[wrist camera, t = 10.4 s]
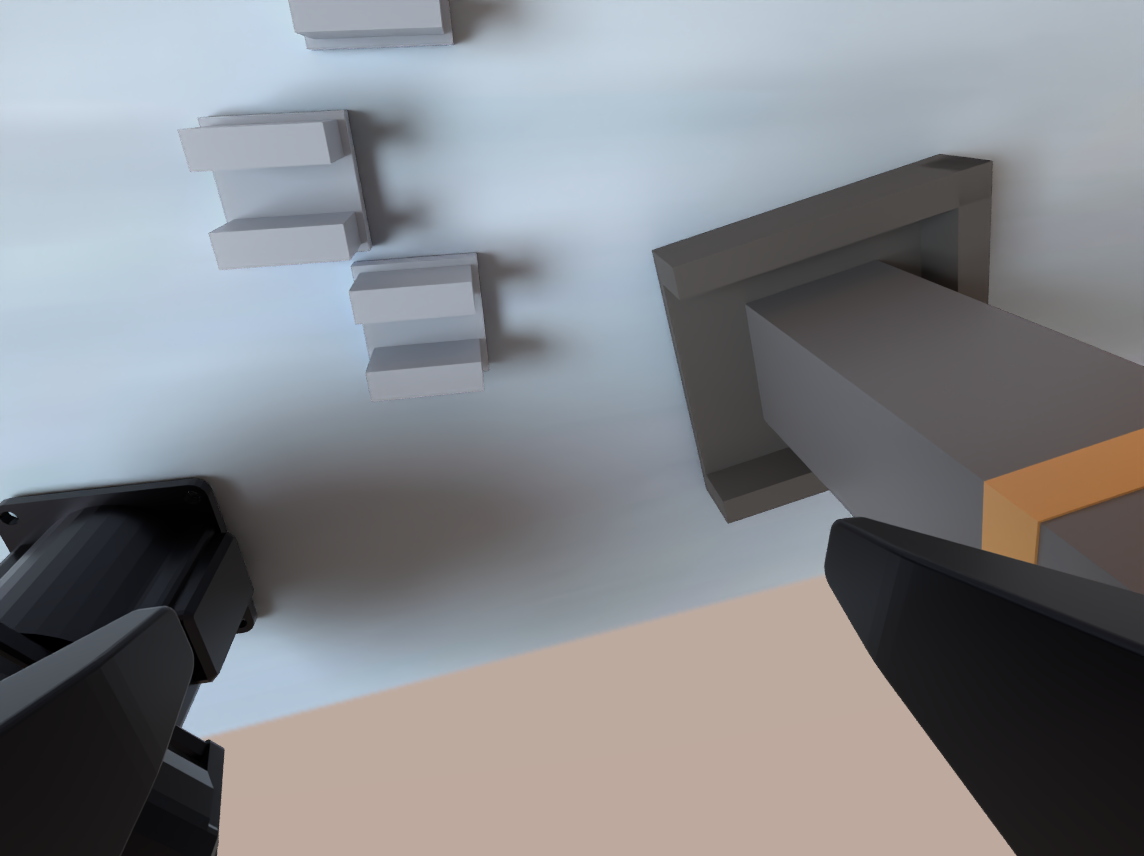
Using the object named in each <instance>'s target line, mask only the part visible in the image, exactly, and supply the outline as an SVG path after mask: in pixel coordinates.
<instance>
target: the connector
mask: <svg viewBox="0 0 1144 856" xmlns="http://www.w3.org/2000/svg"><path fill="white" fill-rule="evenodd" d="M745 307H746V313H747V319H748V325H749V331H750V338H751V344H752V350H753V356H754V362H755V368H756V374H757V380H758V387H759V393H760V399H761V405H762V411H763V417H764V420H765V421H766V422H767V423H768V425H769V426H770V427H771V428H772V429H773V430H774V431H775V432H776V433H777V434H778V435H779V436H780V438H781V439H782V440H783V441H784V442H785V443H786V444H787V445H788V446H789V447H790V448H791V449H792V450H793V452H794V453H795V454H796V455H797V456H798V457H799V458H800V459H801V460H802V461H803V462H804V463H805V465H806V466H807V467H808V468H809V469H810V470H811V471H812V472H813V473H814V474H815V475H816V476H817V477H818V479H819V480H820V481H821V482H822V483H823V484H824V485H825V486H826V487H827V488H828V489H829V490H830V491H831V493H832V494H833V495H834V496H835V497H836V498H837V499H838V500H839V501H840V502H841V503H842V504H843V506H844V507H845V508H846V509H847V510H848V511H849V512H850V513H851V514H852V515H853V516H854V517H866V518H869V519H873V520H877V521H880V522H884V523H887V524H891V525H895V526H898V527H902V528H905V529H909V530H913V531H916V532H920V533H924V534H927V535H931V536H934V537H938V538H942V539H945V540H949V541H953V542H956V543H960V544H963V545H967V546H971V547H974V548H978V549H982V550H985V551H989V552H992V553H996V554H1000V555H1003V556H1007V557H1011V558H1014V559H1018V560H1021V561H1025V562H1029V563H1032V564H1036V565H1040V566H1043V567H1047V568H1050V569H1054V570H1058V571H1061V572H1065V573H1069V574H1072V575H1076V576H1079V577H1083V578H1087V579H1090V580H1094V581H1098V582H1101V583H1105V584H1108V585H1112V586H1116V587H1119V588H1123V589H1127V590H1130V591H1134V592H1137V593H1141V594H1144V367H1143V366H1141V365H1138V364H1136V363H1133V362H1131V361H1128V360H1126V359H1123V358H1121V357H1118V356H1116V355H1113V354H1111V353H1108V352H1106V351H1103V350H1101V349H1098V348H1096V347H1093V346H1091V345H1088V344H1086V343H1083V342H1081V341H1078V340H1076V339H1073V338H1071V337H1068V336H1066V335H1063V334H1061V333H1058V332H1056V331H1053V330H1051V329H1048V328H1046V327H1043V326H1041V325H1038V324H1036V323H1033V322H1031V321H1028V320H1026V319H1023V318H1021V317H1018V316H1016V315H1013V314H1011V313H1008V312H1006V311H1003V310H1001V309H998V308H996V307H993V306H991V305H988V304H986V303H983V302H981V301H978V300H976V299H973V298H971V297H968V296H966V295H963V294H961V293H958V292H956V291H953V290H951V289H948V288H946V287H943V286H941V285H938V284H936V283H933V282H931V281H928V280H926V279H923V278H921V277H918V276H916V275H913V274H911V273H908V272H906V271H903V270H901V269H898V268H896V267H893V266H891V265H888V264H886V263H883V262H881V261H878V260H874V261H871V262H868V263H865V264H862V265H859V266H856V267H853V268H850V269H847V270H844V271H841V272H838V273H835V274H832V275H829V276H826V277H823V278H820V279H817V280H814V281H811V282H808V283H805V284H802V285H799V286H796V287H793V288H790V289H787V290H784V291H781V292H778V293H776V294H773V295H770V296H767V297H764V298H761V299H758V300H755V301H752V302H749V303H746V304H745Z"/></svg>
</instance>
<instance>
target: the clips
mask: <svg viewBox="0 0 1144 856" xmlns="http://www.w3.org/2000/svg"><path fill="white" fill-rule="evenodd" d="M288 1H289V6H290V11H291V16H292V21H293V25H294V30H295V33H298V34H301V35H304V37H305V42H306V46H307V49H309V50H334V49H359V48H385V47H411V46H437V45H454V44H453V35H452V26H451V17H450V8H449V0H288ZM198 122H199V125H200V127H196V128H188V129H179V130H178V133H179V136H180V140H181V143H182V147H183V150H184V153H185V157H186V160H187V163H188V167H189V170H190V172H199V171H213V175H214V179H215V182H216V186H217V189H218V193H219V196H220V200H221V203H222V207H223V210H224V214H225V218H226V221H227V223H226V224H224V225H223V226H221V227H219V228H217V229H215V230H213V231H212V232H210V233H208V234H209V237H210V241H211V244H212V247H213V251H214V254H215V257H216V261H217V264H218V268H219V270H227V269H241V268H254V267H267V266H281V265H294V264H307V263H321V262H334V261H347V260H351V259H352V257H353V256H354V254H355V253H356V252H362V251H370V250H371V248H372V242H371V237H370V232H369V226H368V221H367V215H366V210H365V204H364V199H363V193H362V188H361V183H360V177H359V172H358V166H357V161H356V155H355V150H354V144H353V139H352V134H351V128H350V123H349V117H348V112H347V110H337V111H316V112H296V113H276V114H255V115H235V116H215V117H199V118H198ZM351 270H352V274H353V279H354V283H353V285H352V287H351V288H350V290H349V296H350V301H351V305H352V310H353V315H354V320H355V325H356V324H363V329H364V334H365V339H366V344H367V349H368V354H369V359H370V361H369V364H368V367H367V370H366V378H367V383H368V387H369V392H370V397H371V402H376V401H386V400H396V399H406V398H416V397H426V396H437V395H447V394H457V393H467V392H477V391H484V381H483V371H489V363H488V353H487V344H486V335H485V326H484V317H483V308H482V299H481V290H480V281H479V272H478V263H477V253H465V254H452V255H438V256H425V257H412V258H398V259H385V260H372V261H359V262H354V263H353V264H352V266H351Z"/></svg>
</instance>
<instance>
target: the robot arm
mask: <svg viewBox="0 0 1144 856" xmlns="http://www.w3.org/2000/svg"><path fill="white" fill-rule="evenodd" d="M188 491H193V492H196V493H198V494H199V496H200V497H199V498H197V497H193V496H191V495H190V494H189V493H188ZM8 512H12V513H14V514H15V515H16V516H17V517H18V518H17V517H14V516H11V515H10V514H9V513H8ZM0 535H1V537H2V539H3V541H4V542H5V544H6V546H7V548H8V549H9V551H10V554H9V555H8V556H7V557H6V558H5V559H4V560H3V561H2V562H1V563H0V856H217V847H218V843H219V840H218V839H219V838H218V837H219V819H220V806H221V791H222V777H223V763H224V748H223V747H221V746H219V745H218V744H216V743H214V742H212V741H211V740H206V741H203V740H202V739H200V738H198V737H196V736H195V735H193V734H191V733H190V732H188V731H186V730H184V729H183V728H182V725H183V723H184V721H185V719H186V716H187V714H188V712H189V710H190V707H191V705H192V703H193V701H194V698H195V696H196V694H197V692H198V689H199V687H200V685H201V683H208V682H213V680H214V679H215V678H216V677H217V676H218V674H219V673H220V670H221V668H222V666H223V663H224V661H225V658H226V656H227V654H228V651H229V649H230V647H231V644H232V642H233V639H234V637H235V635H236V634H238V633H244V632H248V631H250V630H251V629H252V628H253V626H254V624H255V621H256V619H257V613H256V610H255V607H254V604H253V601H252V599H251V597H252V594H253V591H254V589H253V586H252V583H251V580H250V578H249V575H248V572H247V569H246V566H245V564H244V561H243V558H242V555H241V552H240V549H239V547H238V544H237V541H236V538H235V537H234V536H233V535H232V534H231V533H229V532H227V529H226V526H225V524H224V521H223V518H222V515H221V513H220V510H219V507H218V504H217V501H216V499H215V496H214V493H213V490H212V488H211V487H210V485H209V484H208V483H206V482H205V481H203V480H200V479H193V478H191V479H182V480H172V481H163V482H154V483H145V484H136V485H127V486H118V487H108V488H99V489H90V490H81V491H72V492H63V493H53V494H44V495H35V496H26V497H17V498H9V499H5V500H3V501H2V502H1V503H0ZM824 568H825V575H826V579H827V582H828V584H829V586H830V588H831V589H832V591H833V593H834V594H835V596H836V598H837V600H838V601H839V603H840V605H841V607H842V608H843V610H844V612H845V613H846V615H847V616H848V619H849V620H850V622H851V624H852V625H853V627H854V629H855V630H856V632H857V634H858V636H859V637H860V639H861V641H862V642H863V644H864V646H865V648H866V649H867V651H868V653H869V654H870V656H871V657H872V659H873V661H874V662H875V664H876V665H877V666H878V668H879V669H880V671H881V672H882V674H883V675H884V676H885V678H886V679H887V680H888V682H889V683H890V685H891V686H892V687H893V689H894V690H895V691H896V693H897V694H898V696H899V697H900V698H901V699H902V701H903V702H904V704H905V705H906V706H907V708H908V709H909V710H910V712H911V713H912V714H913V716H914V717H915V718H916V720H917V721H918V723H919V724H920V725H921V727H922V728H923V729H924V731H925V732H926V733H927V735H928V736H929V738H930V739H931V740H932V742H933V743H934V744H935V746H936V747H937V748H938V750H939V751H940V752H941V754H942V755H943V756H944V758H945V759H946V761H947V762H948V763H949V765H950V766H951V767H952V769H953V770H954V771H955V773H956V774H957V775H958V777H959V778H960V779H961V781H962V782H963V784H964V785H965V786H966V788H967V789H968V790H969V792H970V793H971V794H972V796H973V797H974V798H975V800H976V801H977V802H978V804H979V805H980V806H981V808H982V809H983V811H984V812H985V813H986V814H987V816H988V818H989V819H990V820H991V822H992V823H993V824H994V826H995V827H996V828H997V830H998V831H999V832H1000V834H1001V835H1002V836H1003V838H1004V839H1005V840H1006V842H1007V843H1008V845H1009V846H1010V847H1011V849H1012V850H1013V851H1014V853H1015V854H1016V855H1017V856H1144V594H1141V593H1137V592H1134V591H1130V590H1127V589H1123V588H1119V587H1116V586H1112V585H1108V584H1105V583H1101V582H1098V581H1094V580H1090V579H1087V578H1083V577H1079V576H1076V575H1072V574H1069V573H1065V572H1061V571H1058V570H1054V569H1050V568H1047V567H1043V566H1040V565H1036V564H1032V563H1029V562H1025V561H1021V560H1018V559H1014V558H1011V557H1007V556H1003V555H1000V554H996V553H992V552H989V551H985V550H982V549H978V548H974V547H971V546H967V545H963V544H960V543H956V542H953V541H949V540H945V539H942V538H938V537H934V536H931V535H927V534H924V533H920V532H916V531H913V530H909V529H905V528H902V527H898V526H895V525H891V524H887V523H884V522H880V521H877V520H873V519H869V518H866V517H852V518H844V519H838V520H836V521H835V522H834V523H833V525H832V527H831V530H830V536H829V541H828V547H827V552H826V558H825V565H824ZM242 618H243V619H245V620H242Z"/></svg>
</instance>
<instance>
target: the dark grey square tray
mask: <svg viewBox="0 0 1144 856" xmlns="http://www.w3.org/2000/svg"><path fill="white" fill-rule="evenodd" d="M992 165H993V161H991V160H983V159H975V158H967V157H959V156H951V155H943V154H938V155H935V156H932V157H929V158H926V159H923V160H920V161H918V162H915V163H912V164H909V165H906V166H903V167H900V168H897V169H894V170H891V171H888V172H885V173H882V174H879V175H876V176H873V177H870V178H867V179H864V180H861V181H858V182H855V183H852V184H849V185H846V186H843V187H840V188H837V189H834V190H831V191H828V192H825V193H822V194H819V195H816V196H813V197H810V198H807V199H804V200H801V201H798V202H795V203H792V204H789V205H786V206H783V207H780V208H777V209H774V210H771V211H768V212H765V213H762V214H759V215H756V216H753V217H750V218H747V219H744V220H741V221H738V222H735V223H732V224H729V225H726V226H723V227H721V228H718V229H715V230H712V231H709V232H706V233H703V234H700V235H697V236H694V237H691V238H688V239H685V240H682V241H679V242H676V243H673V244H670V245H667V246H664V247H661V248H658V249H655V250H652V253H653V258H654V262H655V266H656V271H657V275H658V280H659V284H660V288H661V293H662V297H663V301H664V306H665V310H666V315H667V319H668V323H669V328H670V332H671V336H672V341H673V345H674V350H675V354H676V358H677V363H678V367H679V371H680V376H681V380H682V385H683V389H684V393H685V398H686V402H687V407H688V411H689V415H690V420H691V424H692V428H693V433H694V437H695V442H696V446H697V450H698V455H699V459H700V463H701V468H702V472H703V477H704V481H705V485H706V489H707V491H708V492H709V494H710V496H711V497H712V499H713V500H714V502H715V504H716V505H717V507H718V509H719V510H720V512H721V513H722V515H723V517H724V518H725V520H726V521H727V523H728V524H729V523H732V522H735V521H738V520H741V519H744V518H747V517H750V516H753V515H756V514H759V513H762V512H765V511H768V510H771V509H774V508H777V507H780V506H783V505H786V504H789V503H792V502H795V501H798V500H801V499H804V498H807V497H810V496H813V495H816V494H819V493H822V492H825V491H828V490H829V489H828V488H827V487H826V486H825V485H824V484H823V483H822V482H821V481H820V480H819V479H818V477H817V476H816V475H815V474H814V473H813V472H812V471H811V470H810V469H809V468H808V467H807V466H806V465H805V463H804V462H803V461H802V460H801V459H800V458H799V457H798V456H797V455H796V454H795V453H794V452H793V450H792V449H791V448H790V447H789V446H788V445H787V444H786V443H785V442H784V441H783V440H782V439H781V438H780V436H779V435H778V434H777V433H776V432H775V431H774V430H773V429H772V428H771V427H770V426H769V425H768V423H767V422H766V421H765V420H764V417H763V411H762V405H761V399H760V393H759V387H758V380H757V374H756V368H755V362H754V356H753V350H752V344H751V338H750V331H749V325H748V319H747V313H746V307H745V304H746V303H749V302H752V301H755V300H758V299H761V298H764V297H767V296H770V295H773V294H776V293H778V292H781V291H784V290H787V289H790V288H793V287H796V286H799V285H802V284H805V283H808V282H811V281H814V280H817V279H820V278H823V277H826V276H829V275H832V274H835V273H838V272H841V271H844V270H847V269H850V268H853V267H856V266H859V265H862V264H865V263H868V262H871V261H874V260H878V261H881V262H883V263H886V264H888V265H891V266H893V267H896V268H898V269H901V270H903V271H906V272H908V273H911V274H913V275H916V276H918V277H921V278H923V279H926V280H928V281H931V282H933V283H936V284H938V285H941V286H943V287H946V288H948V289H951V290H953V291H956V292H958V293H961V294H963V295H966V296H968V297H971V298H973V299H976V300H978V301H981V302H983V303H986V304H988V288H989V257H990V226H991V196H992Z"/></svg>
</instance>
